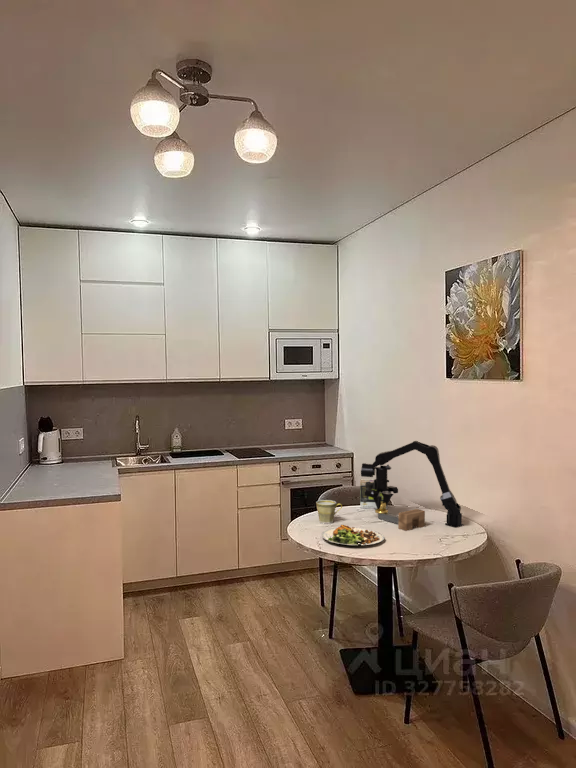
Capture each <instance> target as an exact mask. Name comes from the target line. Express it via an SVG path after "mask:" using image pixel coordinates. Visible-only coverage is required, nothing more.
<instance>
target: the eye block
mask: <svg viewBox="0 0 576 768" xmlns="http://www.w3.org/2000/svg"><path fill="white" fill-rule="evenodd" d="M398 516H399V523H398V524H397V525H398V529H399V530H402V531H412V530H413V527H414V528H419V529H420V528H425V527H424V526H426V524H425V523H426V522H425V521H426V518H425V517H426V511H425V510H421V509H418V508H416V509H411V510H406V511H400V512H398Z"/></svg>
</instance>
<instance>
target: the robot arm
mask: <svg viewBox="0 0 576 768" xmlns="http://www.w3.org/2000/svg"><path fill="white" fill-rule="evenodd" d="M412 451H417V452H420V453H421V454H424V455H425V457H426V458H427V459H428V461H429V463H430V464H431V465H432V468H433V471H434V473H435V476H436V479H437V483H438V484H439V488H440V490H441V495H440V497H439V499H440V502H441V505H442V507H444V510H447V512H446V523H445V526H449V527H453V528H459V527H462V525H463V526H464V525H465V524H464V523H463V522H462V521H463V520H462V519H463V516H462V515H463V513H461V509H462V506H461V505H460V504H459V503H458V501H457V499H456V497H455V495H454V494H453V492H452V490H451V489H450V486H449V483H448V481H447V479H446V475H445V474H444V473H445V472H444V470H443V467H442V464H441V460H440V451H439V448H438V447H437V446H436V445H429V444H427V443H424V442H420V441H419V440H413V441H412V442H409V443H407V444H404V445H402V446H401V447H398V448H397V447H396V449H393V450H387V451H383V452H379V453H378V454H377V455H376V456H375V457H374V459H375V460H374V461H373V462H372V463H367V462H365V463H364V462H363V463H362V464H361V468H360V476H361V477H362V478H363V477H364V478H373V477H374V476H375V478H373V479H374V482H373V483H371V482H366V485H365V486H366V488H368V489H369V490H366V491H365V496H369V497H372V498H373V499H374V501H375V504H376V506H377V508H376V509H379V508H380V504H381V499H382V497H381V496H380V494H381V493H382V495H383V502H386V506H387V504H389V502H390V500H391V499H392V497H393V496H394V494H399V488H398V487H397V486H394V485H388V483H390V479H388V471H390V470H391V469H392V467H391V466H390V465H389V464H387V463H389V462H390V461H392V460H394V459H395V458H397V457H399V456H402V455H405V454H407V453H410V452H412ZM387 485H388V486H387ZM372 489H373V490H372ZM458 526H459V527H458Z"/></svg>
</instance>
